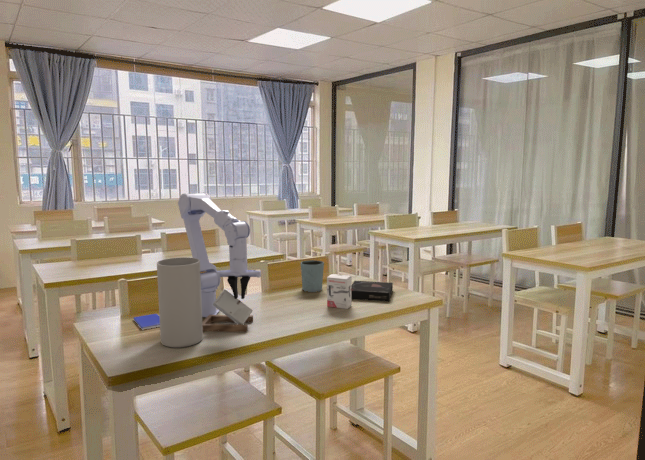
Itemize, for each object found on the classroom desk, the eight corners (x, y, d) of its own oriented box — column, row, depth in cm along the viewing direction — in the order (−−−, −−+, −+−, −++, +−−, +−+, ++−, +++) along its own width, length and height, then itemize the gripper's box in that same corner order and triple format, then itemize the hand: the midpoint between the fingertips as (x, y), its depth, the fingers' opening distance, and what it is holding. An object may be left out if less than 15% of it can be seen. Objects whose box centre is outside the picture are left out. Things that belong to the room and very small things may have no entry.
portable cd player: (392, 291, 206) (392, 282, 205) (389, 302, 189) (389, 292, 189) (354, 289, 209) (354, 280, 209) (348, 300, 193) (348, 290, 192)
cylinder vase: (179, 331, 156) (175, 256, 153) (211, 336, 151) (208, 259, 148) (151, 344, 145) (147, 263, 141) (185, 351, 140) (181, 267, 136)
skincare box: (242, 324, 157) (212, 302, 157) (241, 327, 161) (211, 305, 161) (253, 309, 160) (224, 288, 160) (251, 312, 164) (223, 291, 164)
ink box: (326, 306, 182) (326, 276, 181) (331, 303, 187) (331, 273, 185) (347, 309, 179) (347, 278, 178) (352, 305, 184) (352, 275, 182)
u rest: (200, 331, 156) (199, 325, 156) (209, 320, 167) (209, 314, 167) (246, 332, 156) (246, 326, 155) (253, 320, 166) (253, 315, 166)
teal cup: (298, 291, 203) (298, 264, 202) (303, 285, 213) (303, 259, 212) (322, 293, 202) (321, 265, 200) (325, 286, 212) (325, 260, 210)
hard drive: (166, 322, 162) (156, 313, 172) (141, 327, 157) (133, 317, 167) (167, 327, 162) (157, 317, 172) (142, 331, 157) (133, 321, 168)
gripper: (213, 260, 154) (214, 301, 156) (257, 260, 153) (259, 301, 155) (219, 256, 161) (220, 295, 163) (261, 256, 160) (262, 295, 162)
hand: (239, 298), depth 160 cm, fingers closed
